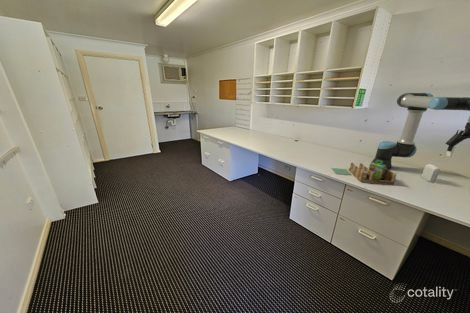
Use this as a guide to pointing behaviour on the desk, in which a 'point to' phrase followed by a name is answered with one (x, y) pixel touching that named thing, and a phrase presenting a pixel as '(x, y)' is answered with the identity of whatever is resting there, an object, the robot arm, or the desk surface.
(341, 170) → the cutting mat
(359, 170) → the rack
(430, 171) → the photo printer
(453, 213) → the desk surface
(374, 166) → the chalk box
